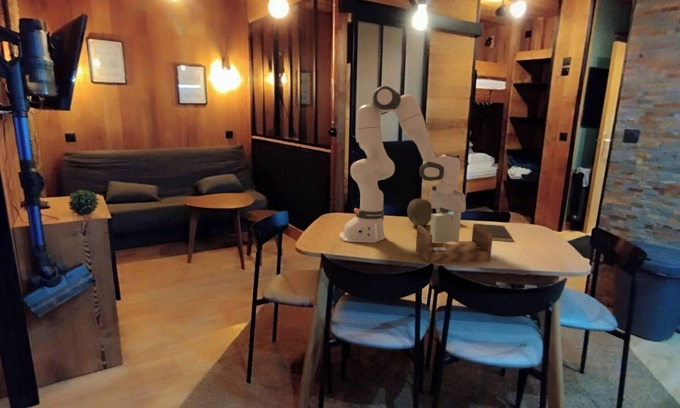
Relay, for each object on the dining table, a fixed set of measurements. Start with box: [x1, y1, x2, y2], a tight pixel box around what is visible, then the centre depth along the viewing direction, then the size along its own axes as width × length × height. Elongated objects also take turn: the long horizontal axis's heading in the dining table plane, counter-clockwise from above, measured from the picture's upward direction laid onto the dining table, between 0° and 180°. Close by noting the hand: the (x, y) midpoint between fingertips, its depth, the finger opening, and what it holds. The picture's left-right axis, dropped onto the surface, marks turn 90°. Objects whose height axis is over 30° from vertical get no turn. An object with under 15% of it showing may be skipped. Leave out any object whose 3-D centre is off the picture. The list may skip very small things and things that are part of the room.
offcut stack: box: [432, 240, 476, 252], centre depth 171 cm, size 20×4×8 cm, turn 97°
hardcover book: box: [476, 223, 514, 243], centre depth 210 cm, size 16×23×2 cm
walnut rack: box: [415, 223, 493, 264], centre depth 174 cm, size 28×15×12 cm, turn 97°
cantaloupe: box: [407, 198, 434, 227], centre depth 221 cm, size 14×14×15 cm
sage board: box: [429, 211, 462, 242], centre depth 193 cm, size 14×4×14 cm, turn 112°
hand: (445, 217), depth 192 cm, fingers open, 8 cm apart
